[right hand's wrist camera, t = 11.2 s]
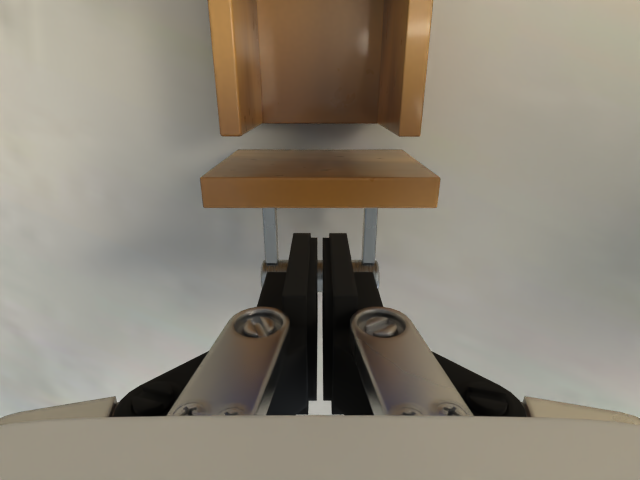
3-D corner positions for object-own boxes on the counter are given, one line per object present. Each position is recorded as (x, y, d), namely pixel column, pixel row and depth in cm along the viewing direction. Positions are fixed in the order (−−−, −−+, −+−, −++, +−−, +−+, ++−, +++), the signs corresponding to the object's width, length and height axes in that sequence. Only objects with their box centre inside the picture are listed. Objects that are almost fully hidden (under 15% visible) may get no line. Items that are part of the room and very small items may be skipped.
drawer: (394, 260, 23) (423, 328, 17) (246, 260, 23) (217, 327, 17) (446, -396, 14) (563, -847, 7) (194, -396, 14) (78, -846, 7)
